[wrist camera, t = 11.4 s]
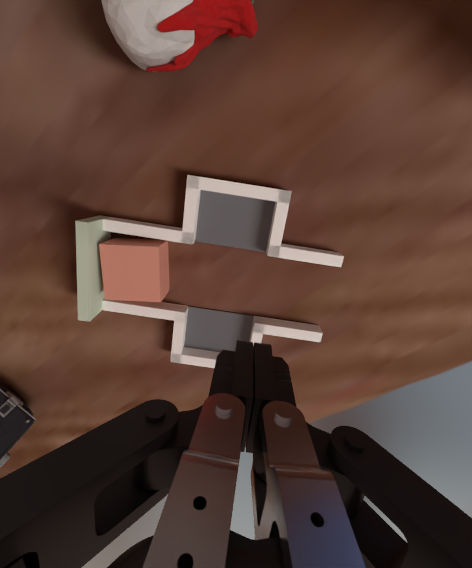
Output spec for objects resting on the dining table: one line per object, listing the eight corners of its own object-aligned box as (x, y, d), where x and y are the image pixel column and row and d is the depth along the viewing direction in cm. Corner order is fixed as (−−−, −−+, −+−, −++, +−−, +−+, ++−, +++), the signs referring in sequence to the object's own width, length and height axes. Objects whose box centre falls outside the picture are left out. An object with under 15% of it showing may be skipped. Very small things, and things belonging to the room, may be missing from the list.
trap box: (352, 200, 31) (371, 204, 26) (306, 372, 38) (314, 398, 33) (100, 160, 31) (73, 156, 26) (100, 342, 38) (79, 364, 33)
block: (168, 239, 33) (158, 246, 29) (169, 289, 35) (160, 302, 31) (115, 237, 33) (98, 244, 30) (119, 287, 35) (105, 299, 32)
